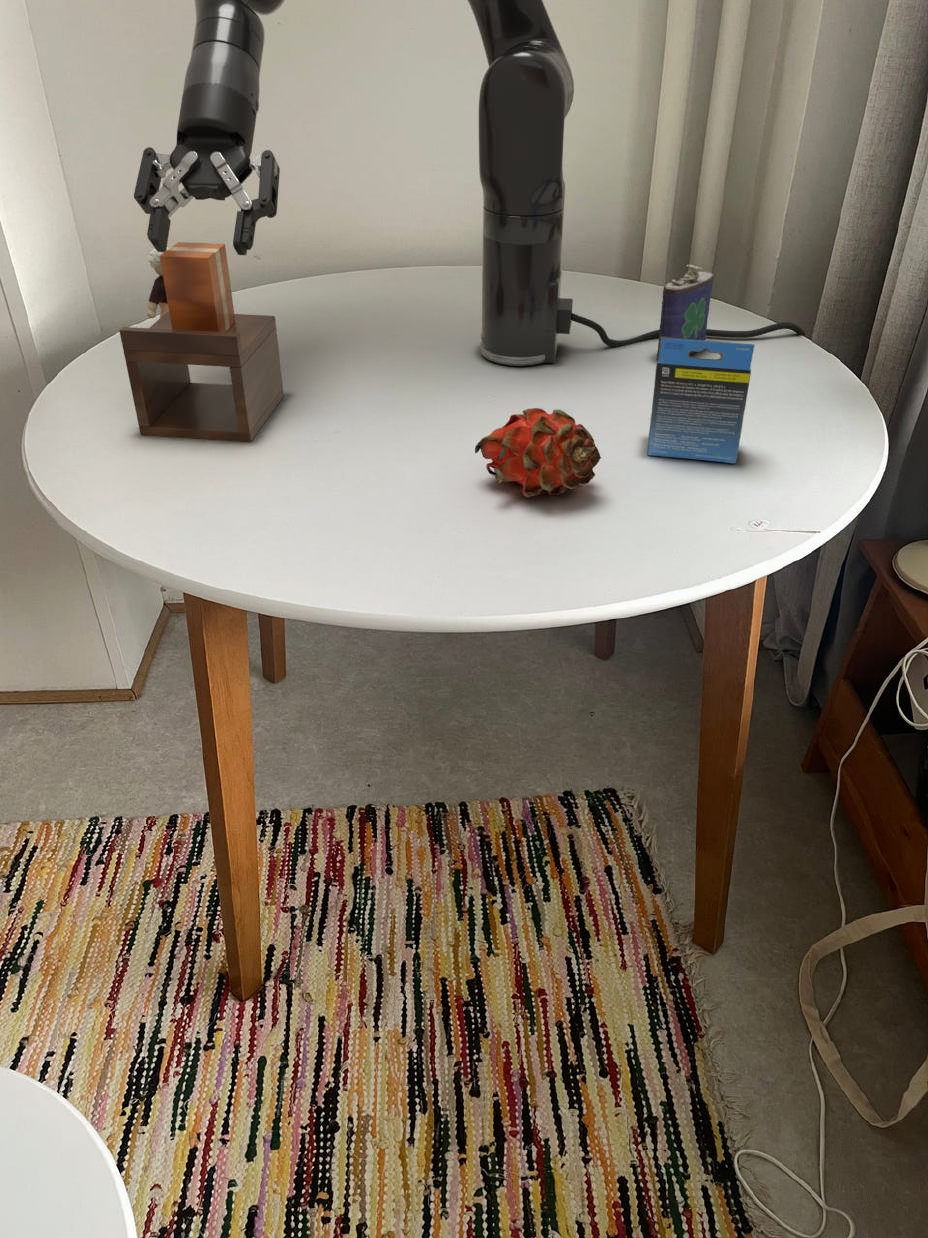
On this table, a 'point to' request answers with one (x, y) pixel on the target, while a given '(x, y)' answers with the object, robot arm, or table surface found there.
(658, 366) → the tape cartridge
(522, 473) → the dragon fruit
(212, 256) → the block
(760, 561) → the table surface
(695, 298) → the flask
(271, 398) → the shelf
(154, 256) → the grandmother figurine
